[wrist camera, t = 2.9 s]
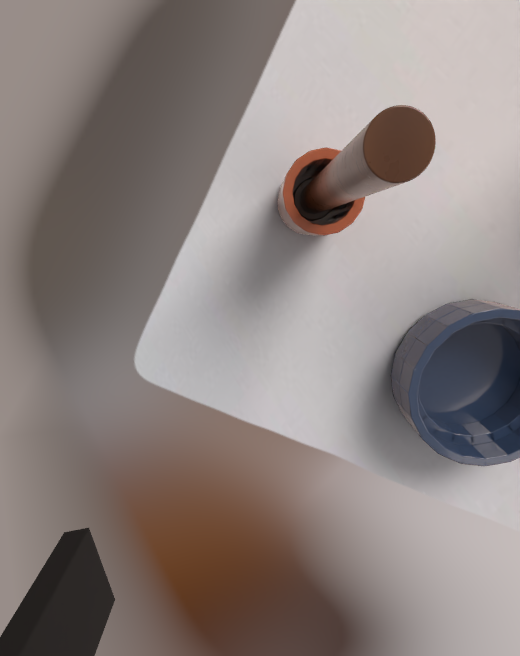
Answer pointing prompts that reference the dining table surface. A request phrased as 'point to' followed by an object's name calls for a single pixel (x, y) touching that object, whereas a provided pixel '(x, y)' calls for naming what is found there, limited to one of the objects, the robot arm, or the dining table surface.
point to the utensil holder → (298, 173)
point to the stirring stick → (371, 162)
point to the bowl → (463, 381)
